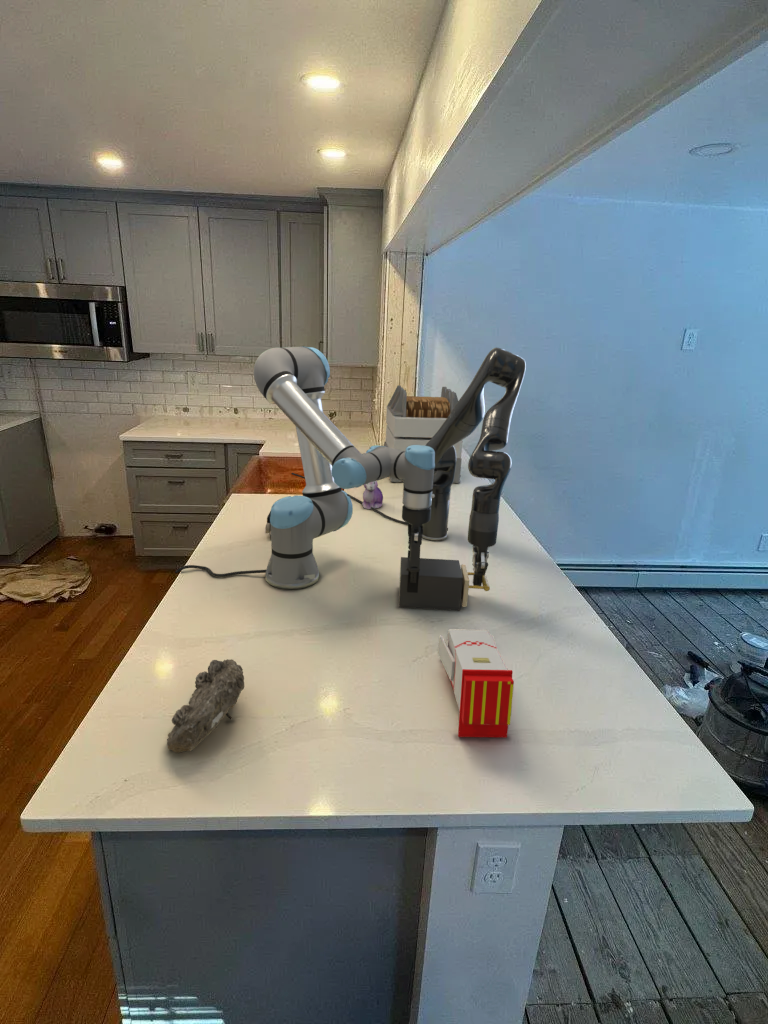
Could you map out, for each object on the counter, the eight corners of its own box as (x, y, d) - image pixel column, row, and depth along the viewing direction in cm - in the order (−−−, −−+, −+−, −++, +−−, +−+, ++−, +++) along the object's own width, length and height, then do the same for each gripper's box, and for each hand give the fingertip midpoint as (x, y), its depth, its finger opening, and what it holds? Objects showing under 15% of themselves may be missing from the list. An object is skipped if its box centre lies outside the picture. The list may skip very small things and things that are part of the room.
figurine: (367, 511, 220) (368, 474, 215) (356, 503, 228) (357, 467, 223) (388, 508, 224) (390, 471, 219) (377, 500, 233) (378, 465, 228)
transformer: (382, 463, 289) (386, 382, 275) (445, 464, 293) (451, 384, 279) (390, 482, 257) (394, 392, 243) (460, 483, 261) (468, 394, 247)
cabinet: (455, 591, 161) (458, 560, 158) (459, 610, 150) (462, 577, 147) (399, 588, 161) (401, 556, 158) (398, 607, 151) (400, 574, 147)
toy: (488, 613, 130) (523, 677, 101) (484, 667, 133) (517, 744, 104) (435, 612, 130) (455, 676, 101) (432, 666, 133) (451, 743, 103)
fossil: (192, 660, 117) (244, 628, 112) (224, 691, 120) (276, 661, 115) (142, 746, 98) (202, 712, 93) (182, 779, 101) (242, 748, 96)
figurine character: (285, 543, 190) (291, 523, 204) (284, 523, 187) (290, 504, 201) (265, 543, 190) (272, 522, 204) (263, 523, 187) (271, 503, 200)
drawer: (482, 590, 160) (485, 565, 157) (487, 608, 151) (490, 581, 148) (410, 586, 160) (411, 561, 157) (410, 603, 151) (412, 577, 148)
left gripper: (433, 522, 136) (427, 603, 143) (429, 492, 158) (424, 564, 165) (402, 520, 136) (397, 601, 143) (402, 491, 158) (398, 562, 165)
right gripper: (501, 536, 142) (494, 597, 147) (493, 517, 154) (487, 575, 160) (471, 534, 142) (465, 596, 148) (466, 516, 154) (460, 574, 160)
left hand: (411, 581), depth 154 cm, fingers closed on cabinet, 11 cm apart
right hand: (476, 585), depth 154 cm, fingers closed
